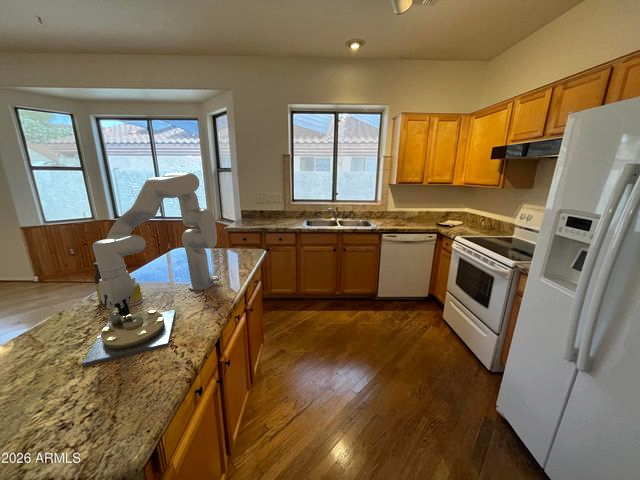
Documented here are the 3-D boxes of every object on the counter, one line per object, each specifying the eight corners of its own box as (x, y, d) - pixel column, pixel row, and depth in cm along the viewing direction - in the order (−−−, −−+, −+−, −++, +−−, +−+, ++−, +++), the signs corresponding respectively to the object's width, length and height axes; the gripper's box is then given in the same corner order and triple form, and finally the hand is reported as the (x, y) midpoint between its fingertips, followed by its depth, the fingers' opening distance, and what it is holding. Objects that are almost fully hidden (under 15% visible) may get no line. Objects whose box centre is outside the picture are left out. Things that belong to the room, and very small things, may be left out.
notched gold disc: (135, 315, 105) (132, 301, 104) (175, 319, 102) (172, 304, 100) (88, 345, 87) (83, 329, 85) (135, 351, 84) (131, 334, 82)
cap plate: (175, 312, 110) (175, 309, 110) (168, 346, 89) (167, 342, 89) (107, 326, 101) (106, 322, 101) (80, 367, 80) (79, 363, 79)
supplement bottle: (146, 301, 121) (140, 276, 117) (131, 307, 115) (125, 282, 111) (137, 298, 123) (132, 274, 120) (122, 304, 118) (116, 279, 114)
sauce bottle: (106, 305, 117) (96, 265, 112) (96, 304, 118) (85, 264, 113) (120, 298, 123) (110, 260, 118) (109, 297, 124) (100, 260, 119)
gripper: (122, 264, 101) (132, 304, 106) (84, 280, 86) (98, 326, 92) (138, 264, 100) (148, 305, 105) (103, 281, 85) (116, 327, 91)
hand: (125, 314), depth 98 cm, fingers closed
